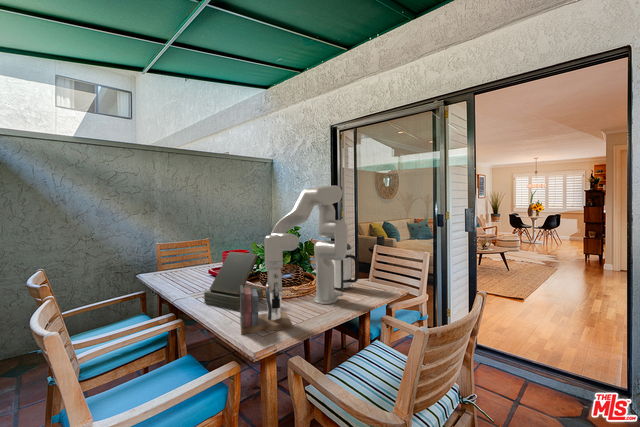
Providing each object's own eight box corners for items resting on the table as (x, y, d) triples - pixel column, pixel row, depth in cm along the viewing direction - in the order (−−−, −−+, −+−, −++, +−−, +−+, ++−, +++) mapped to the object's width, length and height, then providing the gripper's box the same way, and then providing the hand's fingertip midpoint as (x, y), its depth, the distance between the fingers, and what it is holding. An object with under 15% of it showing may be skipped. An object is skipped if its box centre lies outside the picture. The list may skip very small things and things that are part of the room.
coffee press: (328, 292, 171) (328, 240, 170) (328, 284, 187) (328, 237, 186) (358, 292, 171) (358, 240, 170) (356, 284, 187) (356, 237, 186)
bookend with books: (285, 315, 135) (285, 280, 135) (291, 327, 122) (291, 289, 122) (240, 321, 130) (239, 284, 129) (241, 334, 116) (240, 293, 116)
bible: (204, 304, 154) (203, 255, 153) (232, 293, 171) (231, 250, 170) (237, 311, 143) (236, 259, 142) (263, 299, 160) (263, 253, 159)
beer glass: (274, 314, 132) (274, 280, 132) (285, 317, 128) (285, 283, 127) (262, 318, 127) (261, 283, 126) (273, 322, 122) (272, 286, 122)
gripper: (286, 267, 119) (286, 310, 120) (279, 260, 136) (279, 297, 136) (267, 269, 117) (268, 312, 117) (262, 261, 133) (263, 299, 134)
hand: (274, 304), depth 127 cm, fingers open, 8 cm apart
